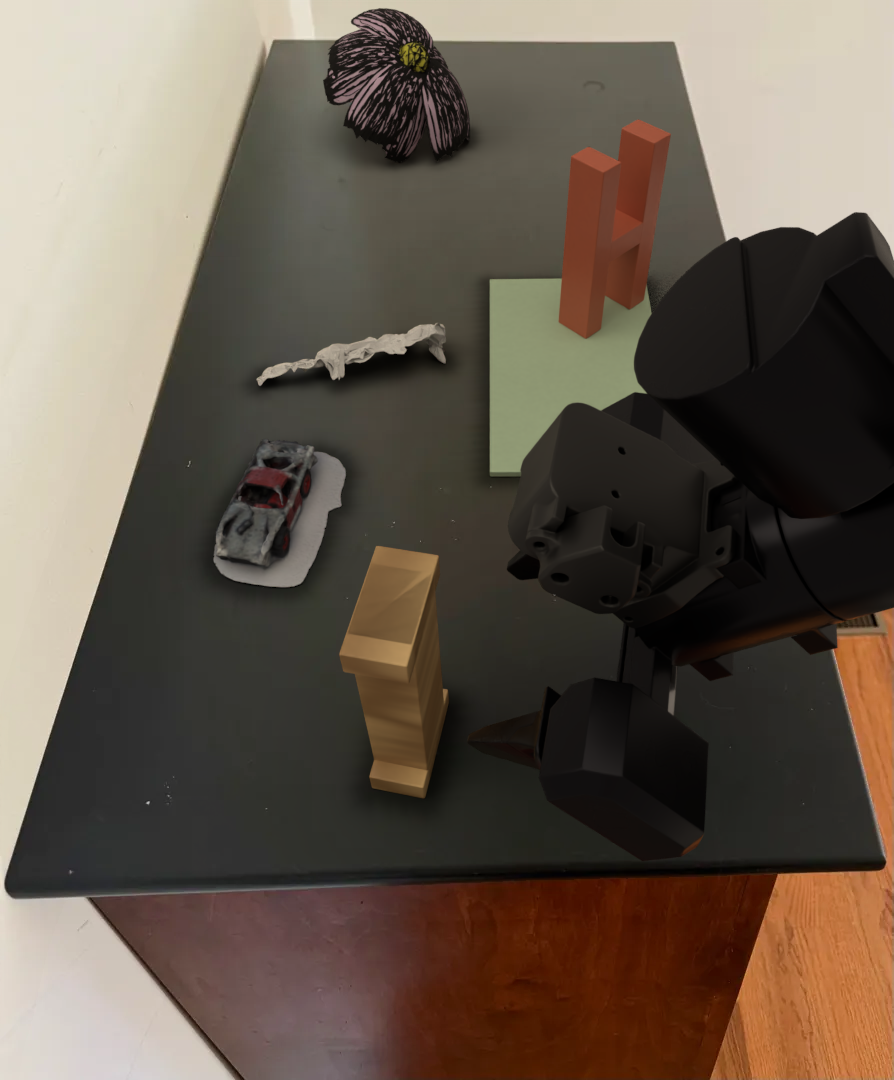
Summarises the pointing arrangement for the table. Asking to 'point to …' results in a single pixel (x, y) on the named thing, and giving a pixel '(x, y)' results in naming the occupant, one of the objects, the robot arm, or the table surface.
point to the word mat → (551, 364)
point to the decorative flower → (396, 86)
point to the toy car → (278, 514)
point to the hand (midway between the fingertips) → (495, 652)
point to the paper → (365, 351)
